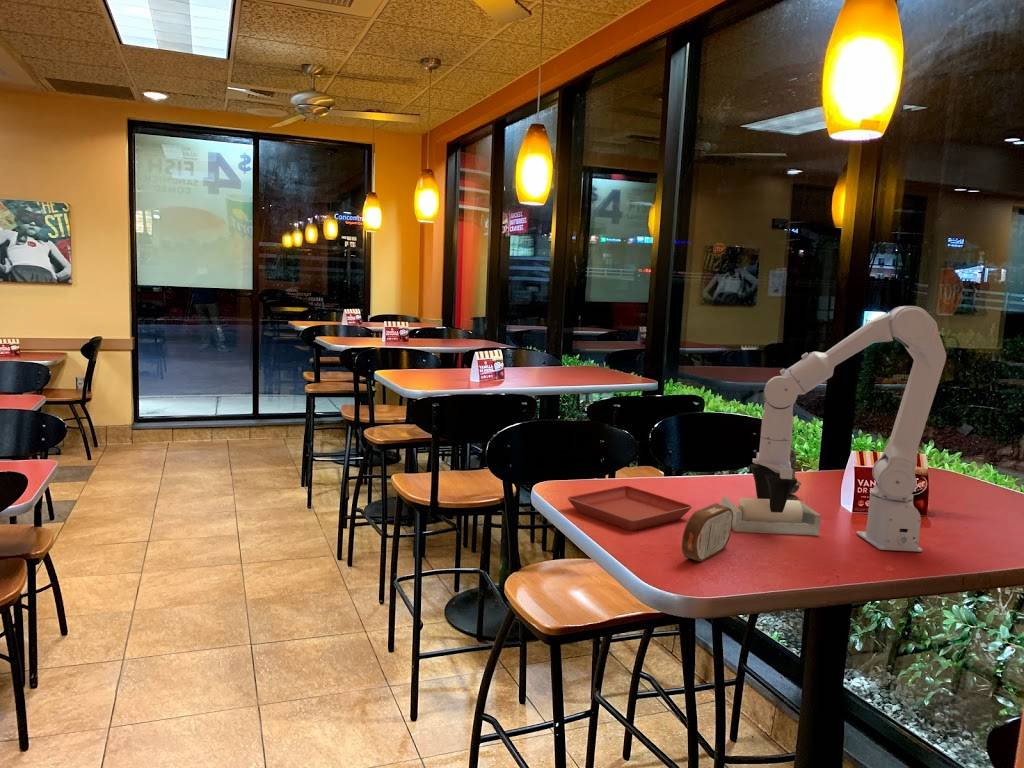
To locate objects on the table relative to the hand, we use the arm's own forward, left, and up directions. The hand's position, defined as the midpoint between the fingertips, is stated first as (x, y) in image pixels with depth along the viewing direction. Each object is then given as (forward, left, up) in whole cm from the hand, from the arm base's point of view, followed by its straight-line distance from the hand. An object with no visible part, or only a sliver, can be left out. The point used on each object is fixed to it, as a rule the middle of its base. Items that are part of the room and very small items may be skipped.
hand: (769, 506), depth 150 cm
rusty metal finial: (+23, -12, -4) cm, 26 cm away
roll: (0, 0, -4) cm, 4 cm away
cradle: (0, 0, -4) cm, 4 cm away
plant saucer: (+3, +27, -5) cm, 28 cm away
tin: (-19, +17, -4) cm, 26 cm away
